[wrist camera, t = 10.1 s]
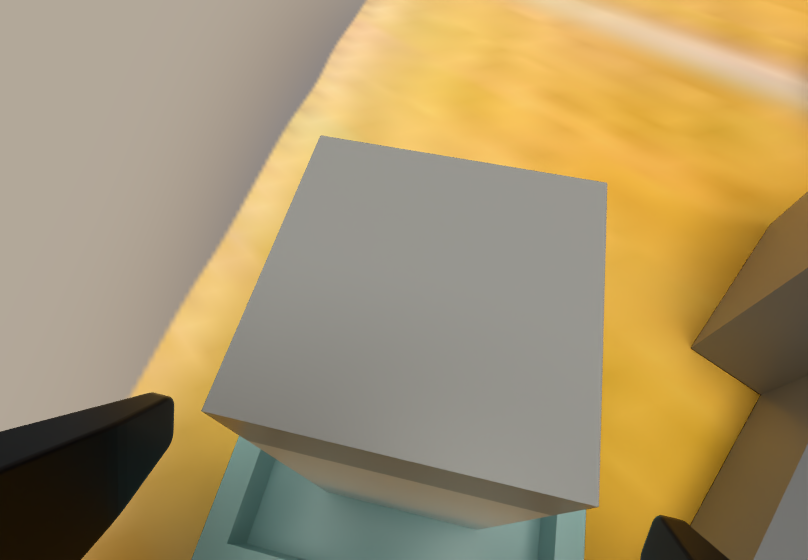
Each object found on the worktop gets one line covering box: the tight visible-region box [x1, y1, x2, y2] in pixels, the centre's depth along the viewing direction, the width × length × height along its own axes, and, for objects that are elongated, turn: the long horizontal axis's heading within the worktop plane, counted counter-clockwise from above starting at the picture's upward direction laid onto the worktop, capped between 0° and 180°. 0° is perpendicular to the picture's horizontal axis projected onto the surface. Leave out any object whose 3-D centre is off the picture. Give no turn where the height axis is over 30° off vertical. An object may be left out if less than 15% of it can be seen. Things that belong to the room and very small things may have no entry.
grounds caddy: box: [201, 136, 607, 530], centre depth 12 cm, size 5×5×11 cm
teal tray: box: [191, 436, 586, 560], centre depth 16 cm, size 11×11×2 cm
